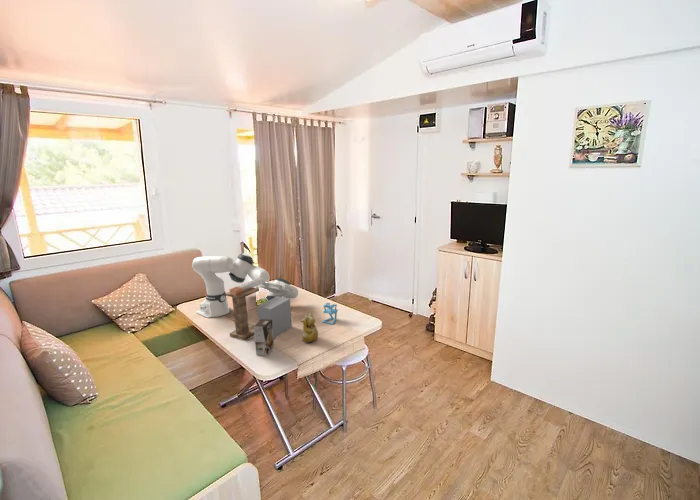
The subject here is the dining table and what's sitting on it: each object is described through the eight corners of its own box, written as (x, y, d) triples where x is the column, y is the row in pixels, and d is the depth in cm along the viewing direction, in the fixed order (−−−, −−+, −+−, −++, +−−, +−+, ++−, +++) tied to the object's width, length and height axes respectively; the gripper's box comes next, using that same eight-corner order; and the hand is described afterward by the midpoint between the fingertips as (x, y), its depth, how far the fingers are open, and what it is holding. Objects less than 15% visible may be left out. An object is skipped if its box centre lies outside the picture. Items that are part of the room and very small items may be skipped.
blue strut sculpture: (339, 320, 220) (339, 301, 217) (332, 325, 213) (331, 306, 210) (329, 317, 224) (328, 299, 221) (321, 322, 217) (321, 304, 214)
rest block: (259, 335, 202) (256, 306, 198) (278, 324, 217) (276, 296, 213) (273, 339, 197) (270, 309, 193) (291, 327, 212) (289, 298, 208)
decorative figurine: (308, 335, 201) (307, 310, 197) (321, 337, 198) (320, 312, 194) (300, 343, 192) (298, 317, 189) (313, 345, 189) (312, 319, 186)
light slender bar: (230, 294, 195) (229, 289, 194) (260, 281, 215) (259, 277, 214) (235, 295, 193) (235, 290, 192) (265, 282, 213) (265, 278, 212)
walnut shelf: (230, 336, 202) (225, 293, 196) (247, 326, 214) (243, 286, 208) (245, 340, 197) (240, 296, 191) (262, 330, 209) (258, 288, 203)
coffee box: (267, 356, 180) (265, 326, 176) (255, 355, 181) (253, 325, 177) (274, 347, 188) (272, 319, 185) (263, 346, 190) (261, 318, 186)
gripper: (293, 295, 224) (280, 291, 212) (268, 291, 233) (254, 286, 222) (295, 286, 225) (282, 281, 214) (270, 282, 235) (257, 277, 223)
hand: (268, 284), depth 218 cm, fingers open, 8 cm apart
